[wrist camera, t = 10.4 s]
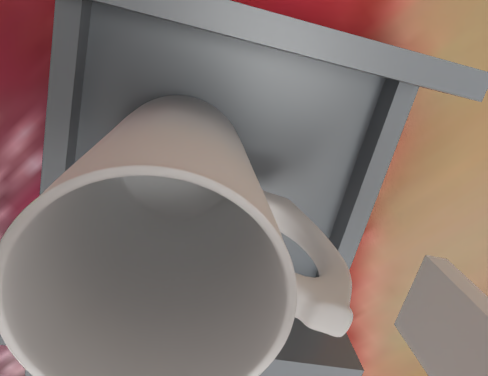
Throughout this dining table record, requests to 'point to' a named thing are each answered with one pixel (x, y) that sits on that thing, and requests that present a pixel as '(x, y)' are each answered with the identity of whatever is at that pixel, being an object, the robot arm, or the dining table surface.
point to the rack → (251, 112)
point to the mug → (163, 258)
